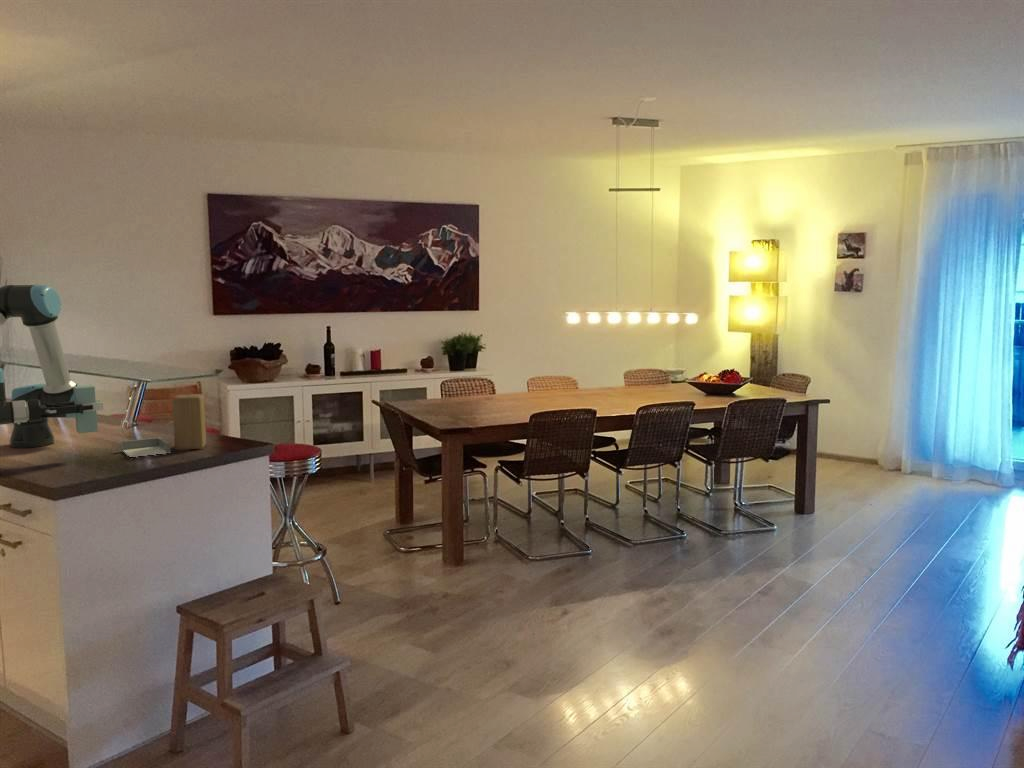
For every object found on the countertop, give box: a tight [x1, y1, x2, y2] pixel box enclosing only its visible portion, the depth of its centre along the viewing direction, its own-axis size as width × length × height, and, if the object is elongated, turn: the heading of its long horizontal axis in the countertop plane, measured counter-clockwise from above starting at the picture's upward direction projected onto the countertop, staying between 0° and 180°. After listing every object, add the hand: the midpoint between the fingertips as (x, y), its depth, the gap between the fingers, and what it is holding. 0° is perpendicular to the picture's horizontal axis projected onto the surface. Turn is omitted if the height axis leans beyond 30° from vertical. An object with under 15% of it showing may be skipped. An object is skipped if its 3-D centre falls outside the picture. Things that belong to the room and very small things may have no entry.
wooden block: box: [171, 393, 207, 451], centre depth 324 cm, size 10×10×20 cm
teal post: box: [73, 384, 99, 434], centre depth 303 cm, size 6×6×16 cm
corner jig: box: [121, 436, 171, 458], centre depth 316 cm, size 14×14×4 cm
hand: (101, 404), depth 305 cm, fingers closed on teal post, 6 cm apart
